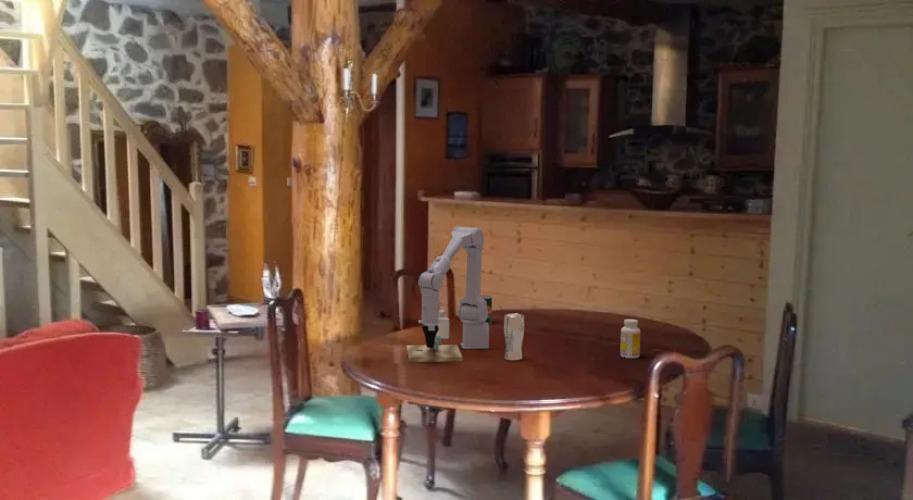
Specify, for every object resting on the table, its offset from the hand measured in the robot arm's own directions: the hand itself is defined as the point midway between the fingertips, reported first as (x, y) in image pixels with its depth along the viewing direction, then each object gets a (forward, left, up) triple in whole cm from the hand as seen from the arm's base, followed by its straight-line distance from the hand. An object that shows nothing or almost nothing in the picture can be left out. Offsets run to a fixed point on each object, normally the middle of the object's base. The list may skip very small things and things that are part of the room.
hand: (429, 347), depth 295 cm
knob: (-2, -4, -1) cm, 4 cm away
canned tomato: (-26, -61, -5) cm, 66 cm away
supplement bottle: (-70, -1, -5) cm, 70 cm away
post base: (-2, -7, -4) cm, 8 cm away
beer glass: (-29, -1, -5) cm, 29 cm away
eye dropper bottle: (-7, -33, -5) cm, 34 cm away
